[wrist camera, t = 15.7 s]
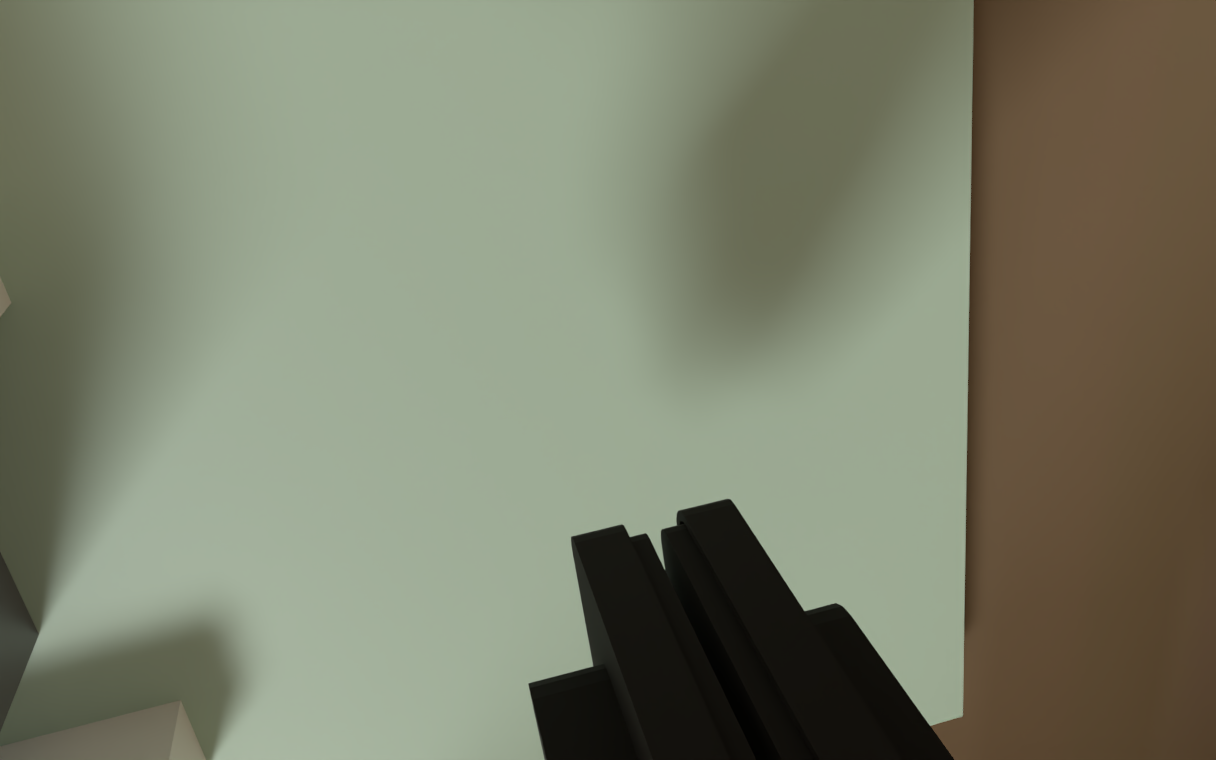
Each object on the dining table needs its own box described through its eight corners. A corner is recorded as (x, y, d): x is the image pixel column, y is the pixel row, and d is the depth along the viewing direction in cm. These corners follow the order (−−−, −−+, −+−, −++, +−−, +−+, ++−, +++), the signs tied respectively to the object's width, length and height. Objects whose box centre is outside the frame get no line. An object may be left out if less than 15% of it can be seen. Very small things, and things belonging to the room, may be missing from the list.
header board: (932, 675, 18) (1123, 934, 14) (-358, 1035, 15) (-638, 1502, 11) (930, -291, 12) (1284, -391, 7) (-1261, 30, 9) (-2788, 178, 5)
